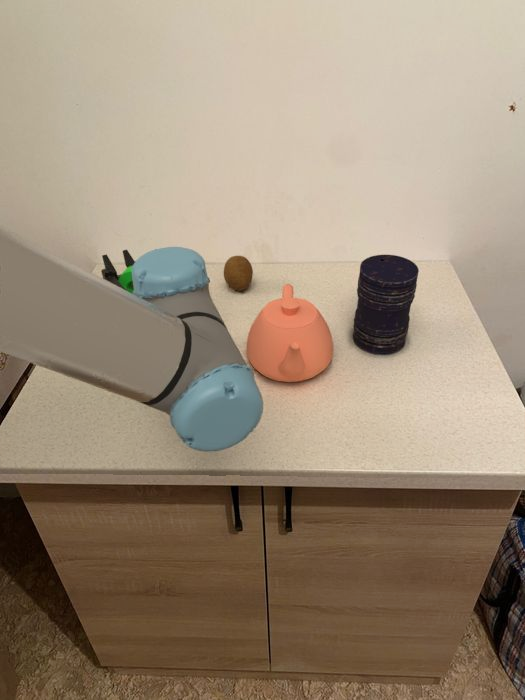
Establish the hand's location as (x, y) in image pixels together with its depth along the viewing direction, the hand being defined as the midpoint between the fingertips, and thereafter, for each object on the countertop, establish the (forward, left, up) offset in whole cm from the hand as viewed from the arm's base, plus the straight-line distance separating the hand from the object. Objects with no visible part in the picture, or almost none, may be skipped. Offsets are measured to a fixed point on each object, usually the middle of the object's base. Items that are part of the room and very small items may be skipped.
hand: (116, 260), depth 83 cm
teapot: (+23, -18, -18) cm, 34 cm away
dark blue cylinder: (+41, -20, -18) cm, 49 cm away
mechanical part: (0, -4, -6) cm, 8 cm away
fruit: (+26, +9, -18) cm, 33 cm away
